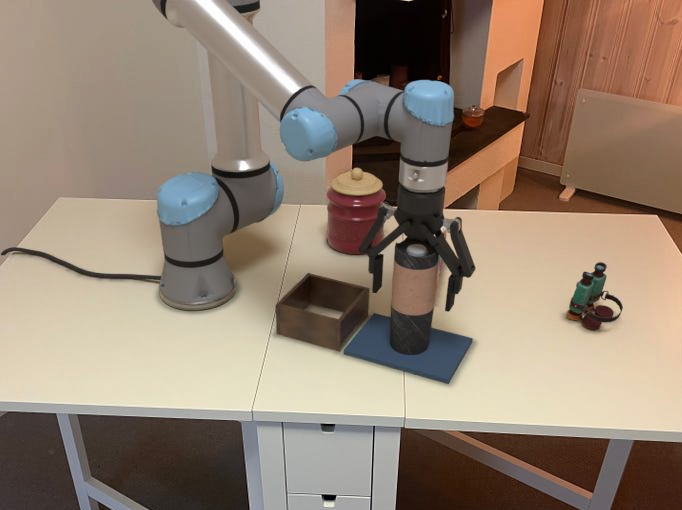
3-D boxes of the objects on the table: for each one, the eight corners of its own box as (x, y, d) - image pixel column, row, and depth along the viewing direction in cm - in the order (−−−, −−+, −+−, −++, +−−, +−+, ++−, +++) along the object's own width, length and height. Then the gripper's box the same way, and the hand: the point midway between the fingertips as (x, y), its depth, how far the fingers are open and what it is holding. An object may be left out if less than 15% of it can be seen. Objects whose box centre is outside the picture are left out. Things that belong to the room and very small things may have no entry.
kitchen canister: (390, 252, 169) (394, 177, 158) (334, 258, 166) (334, 182, 156) (374, 227, 179) (377, 155, 169) (321, 232, 177) (321, 159, 166)
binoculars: (619, 295, 136) (571, 271, 141) (601, 341, 143) (556, 316, 148) (643, 278, 141) (596, 255, 146) (624, 323, 148) (580, 299, 153)
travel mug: (431, 356, 135) (442, 257, 123) (389, 355, 135) (395, 256, 123) (428, 332, 141) (437, 236, 130) (387, 331, 141) (393, 235, 130)
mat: (343, 354, 137) (343, 349, 137) (373, 316, 148) (373, 312, 147) (448, 384, 130) (449, 379, 130) (472, 342, 141) (472, 338, 140)
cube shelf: (276, 334, 142) (275, 304, 138) (308, 300, 152) (307, 272, 148) (339, 351, 138) (340, 322, 134) (368, 316, 148) (369, 287, 144)
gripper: (341, 178, 122) (339, 292, 134) (491, 208, 113) (474, 326, 126) (360, 162, 127) (356, 273, 140) (505, 190, 119) (487, 304, 131)
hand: (412, 298), depth 133 cm, fingers open, 13 cm apart
